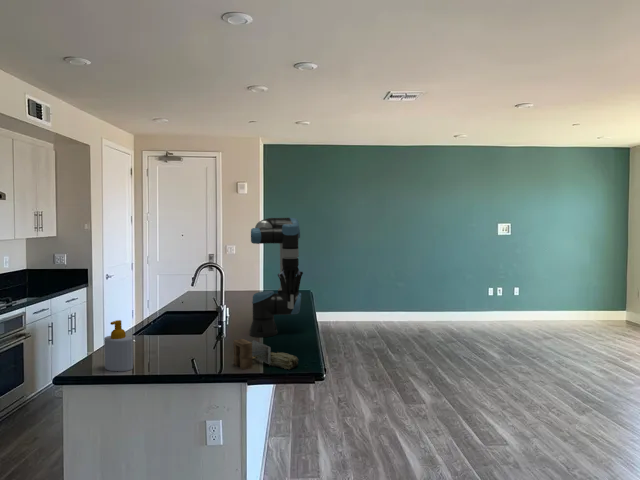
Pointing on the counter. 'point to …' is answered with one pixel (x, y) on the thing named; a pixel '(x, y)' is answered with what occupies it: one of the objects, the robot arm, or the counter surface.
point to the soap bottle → (118, 349)
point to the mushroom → (283, 360)
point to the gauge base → (243, 353)
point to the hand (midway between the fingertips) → (290, 308)
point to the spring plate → (261, 352)
